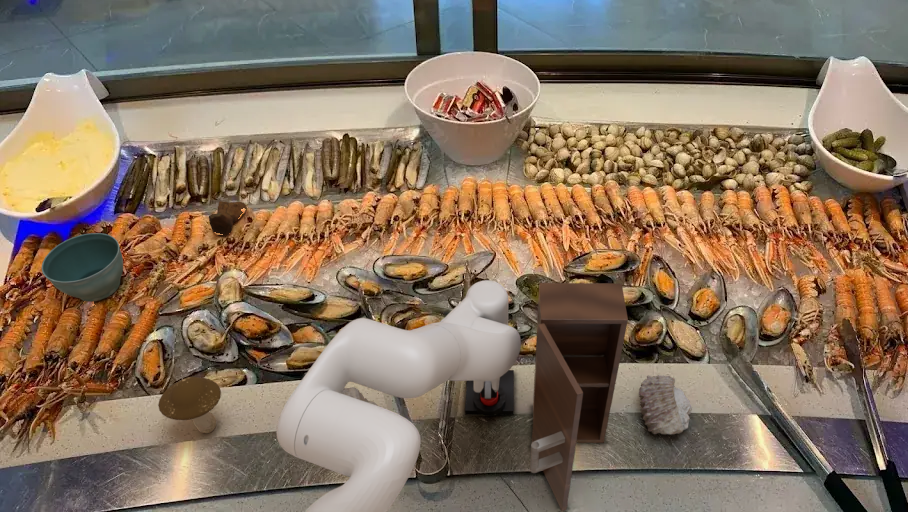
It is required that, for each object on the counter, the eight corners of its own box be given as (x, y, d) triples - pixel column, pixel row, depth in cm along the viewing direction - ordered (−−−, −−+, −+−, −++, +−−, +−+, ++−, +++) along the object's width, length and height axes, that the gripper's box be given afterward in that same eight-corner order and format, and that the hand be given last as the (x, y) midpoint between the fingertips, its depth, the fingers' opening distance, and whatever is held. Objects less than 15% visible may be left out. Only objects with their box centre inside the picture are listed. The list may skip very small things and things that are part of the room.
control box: (513, 420, 136) (513, 411, 133) (464, 420, 135) (464, 411, 133) (513, 374, 144) (513, 364, 142) (467, 374, 144) (466, 364, 141)
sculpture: (197, 209, 166) (221, 174, 178) (196, 238, 173) (220, 202, 184) (229, 218, 167) (252, 182, 179) (228, 246, 174) (249, 210, 185)
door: (533, 523, 120) (541, 407, 95) (504, 456, 130) (505, 335, 104) (566, 509, 122) (583, 392, 97) (536, 444, 131) (543, 322, 106)
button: (498, 406, 135) (498, 401, 133) (480, 406, 135) (480, 401, 133) (498, 391, 137) (498, 386, 136) (481, 391, 137) (480, 386, 136)
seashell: (699, 440, 129) (678, 407, 125) (654, 453, 133) (633, 421, 128) (689, 386, 142) (670, 354, 138) (649, 399, 145) (629, 368, 141)
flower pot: (150, 274, 165) (134, 242, 158) (98, 321, 154) (78, 289, 146) (100, 257, 169) (82, 225, 162) (46, 302, 158) (24, 270, 151)
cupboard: (603, 442, 132) (628, 319, 107) (533, 442, 132) (540, 319, 106) (599, 407, 138) (621, 283, 112) (532, 407, 138) (539, 282, 112)
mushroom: (184, 409, 137) (159, 365, 127) (241, 406, 137) (220, 363, 127) (170, 450, 130) (142, 407, 120) (229, 447, 131) (206, 405, 121)
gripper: (469, 306, 128) (472, 363, 140) (465, 370, 117) (468, 427, 129) (508, 306, 128) (507, 364, 140) (507, 371, 117) (507, 427, 129)
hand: (489, 394), depth 135 cm, fingers closed
